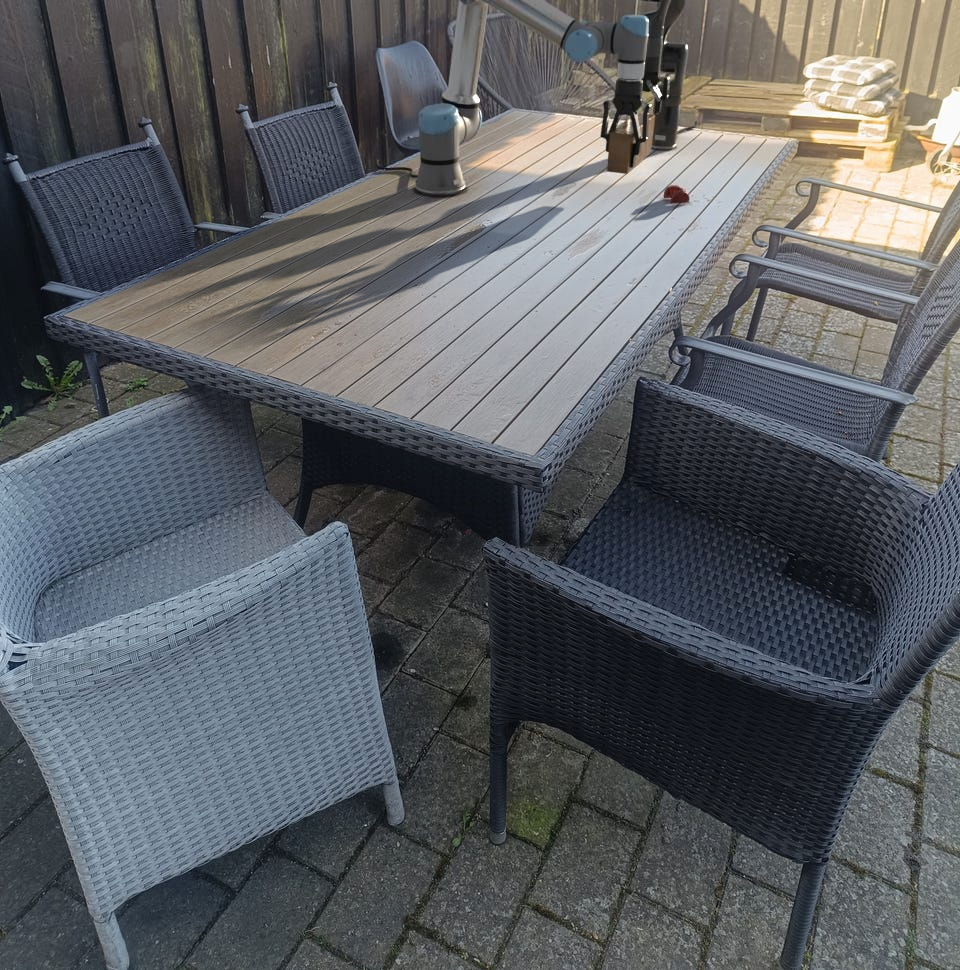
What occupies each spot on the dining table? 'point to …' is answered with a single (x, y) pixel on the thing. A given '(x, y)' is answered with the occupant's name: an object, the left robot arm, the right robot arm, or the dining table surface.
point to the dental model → (676, 194)
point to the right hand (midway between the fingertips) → (642, 113)
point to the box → (627, 145)
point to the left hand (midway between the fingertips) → (621, 164)
